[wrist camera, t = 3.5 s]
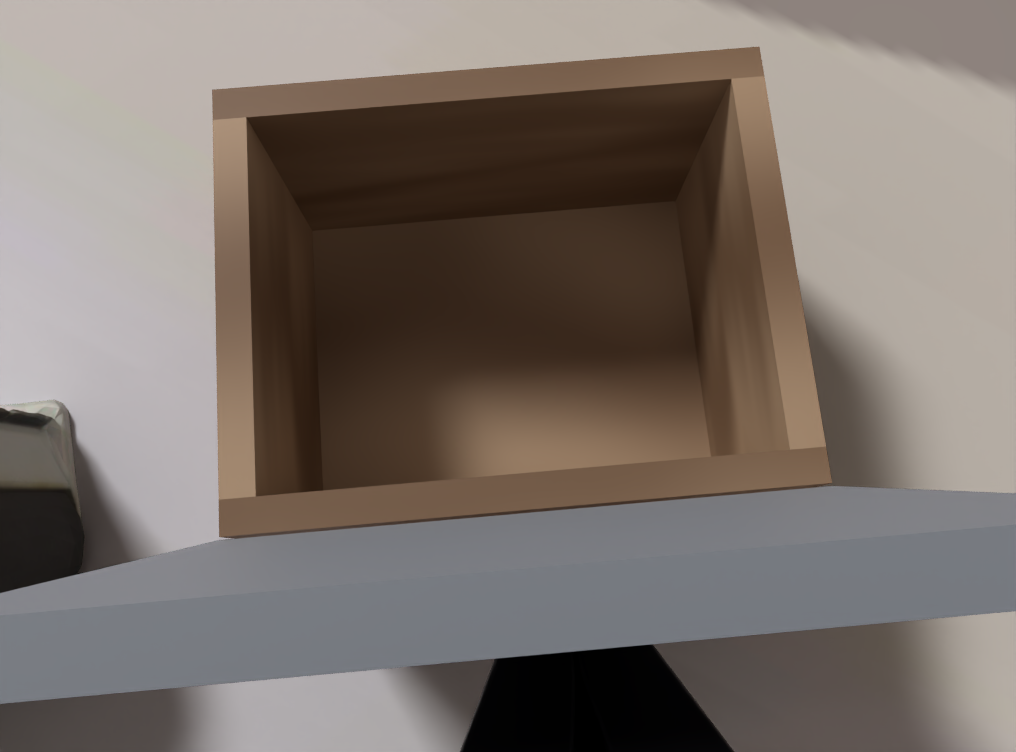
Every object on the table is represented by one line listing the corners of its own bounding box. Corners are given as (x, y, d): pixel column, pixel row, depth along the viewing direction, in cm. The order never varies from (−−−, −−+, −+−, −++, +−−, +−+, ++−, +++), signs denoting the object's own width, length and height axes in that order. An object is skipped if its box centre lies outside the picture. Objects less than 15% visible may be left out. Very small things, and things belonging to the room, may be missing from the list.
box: (737, 507, 20) (831, 482, 14) (304, 546, 20) (219, 537, 14) (691, 186, 22) (758, 46, 16) (292, 219, 22) (212, 89, 16)
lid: (832, 485, 14) (837, 522, 14) (219, 540, 14) (221, 577, 14) (1254, 503, 6) (1269, 587, 6) (-147, 627, 6) (-147, 716, 6)
